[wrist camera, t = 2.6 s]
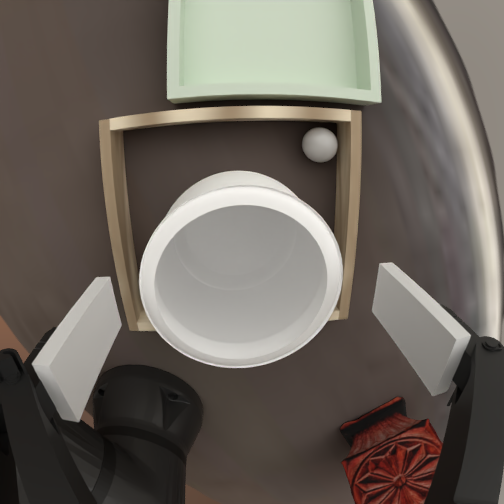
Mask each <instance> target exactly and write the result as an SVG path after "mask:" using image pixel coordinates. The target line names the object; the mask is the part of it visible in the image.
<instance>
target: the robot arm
mask: <svg viewBox="0 0 504 504" xmlns="http://www.w3.org/2000/svg"><path fill="white" fill-rule="evenodd" d="M372 312H373V313H374V315H375V316H376V317H377V319H378V320H379V321H380V323H381V324H382V325H383V327H384V328H385V329H386V331H387V332H388V334H389V335H390V336H391V338H392V339H393V340H394V342H395V343H396V345H397V346H398V347H399V349H400V350H401V352H402V353H403V354H404V356H405V357H406V359H407V360H408V361H409V363H410V364H411V366H412V367H413V368H414V370H415V371H416V373H417V374H418V376H419V377H420V379H421V380H422V381H423V383H424V384H425V386H426V387H427V389H428V390H429V392H430V393H431V395H432V396H435V395H438V394H441V393H444V392H447V390H448V388H449V386H450V384H451V382H452V380H453V381H454V382H455V384H456V385H457V386H456V389H455V391H454V393H453V394H452V396H451V398H450V400H449V402H448V404H447V406H450V404H451V402H452V405H451V410H450V415H449V420H448V424H447V429H446V433H445V437H444V441H443V445H442V449H441V453H440V456H439V460H438V463H437V466H436V470H435V473H434V476H433V479H432V482H431V485H430V488H429V491H428V494H427V496H426V499H425V502H424V504H498V499H499V494H500V488H501V482H502V475H503V466H504V347H503V345H502V344H501V343H500V342H499V341H498V340H496V339H494V338H492V337H486V336H484V337H479V336H478V335H477V334H476V333H475V332H474V331H473V330H472V329H471V328H470V327H469V326H468V325H466V324H465V323H464V322H462V320H461V319H460V318H459V317H457V315H456V314H455V313H454V312H453V311H452V310H451V309H449V308H447V307H445V306H443V305H439V304H438V303H437V302H436V301H435V300H434V299H433V298H432V297H431V296H429V295H428V294H427V293H426V292H425V291H424V290H423V289H422V288H421V287H420V286H418V285H417V284H416V283H415V282H414V281H413V280H412V279H411V278H409V277H408V276H407V275H406V274H405V273H404V272H403V271H401V270H400V269H399V268H398V267H397V266H396V265H395V264H393V263H379V270H378V277H377V283H376V290H375V296H374V301H373V307H372ZM121 326H122V324H121V320H120V316H119V313H118V309H117V304H116V300H115V296H114V292H113V287H112V283H111V278H110V277H96V278H95V280H94V281H93V282H92V283H91V285H90V286H89V287H88V288H87V290H86V291H85V292H84V293H83V295H82V296H81V297H80V298H79V300H78V301H77V302H76V303H75V305H74V306H73V307H72V309H71V310H70V311H69V313H68V314H67V315H66V317H65V318H64V319H63V321H62V322H61V323H60V325H59V326H58V327H53V328H52V329H51V330H49V331H48V332H47V333H45V335H44V336H43V337H42V339H41V340H40V343H38V344H37V345H36V347H35V349H34V350H33V351H32V352H31V354H30V355H29V357H28V358H27V359H26V361H25V362H24V364H23V362H22V360H21V358H20V356H19V354H18V352H17V351H16V350H14V349H10V348H8V349H3V350H1V351H0V504H185V477H186V458H187V455H188V453H189V451H190V449H191V447H192V445H193V443H194V441H195V439H196V437H197V435H198V433H199V431H200V429H201V426H202V417H203V407H202V403H201V400H200V398H199V397H198V395H197V394H196V392H195V391H194V390H193V389H192V388H191V387H190V386H189V385H188V384H186V383H185V382H184V381H182V380H181V379H179V378H178V377H176V376H174V375H172V374H170V373H167V372H165V371H162V370H159V369H156V368H152V367H148V366H140V365H125V366H119V367H115V368H113V369H110V370H109V371H107V372H106V373H104V374H103V375H102V376H101V378H100V379H99V381H98V383H97V386H96V388H95V391H94V394H93V419H94V429H93V428H92V427H90V426H89V425H88V424H86V423H85V422H84V421H82V420H81V419H80V418H81V416H82V413H83V411H84V408H85V406H86V403H87V401H88V399H89V396H90V394H91V391H92V389H93V387H94V384H95V382H96V380H97V378H98V375H99V373H100V371H101V368H102V366H103V364H104V362H105V360H106V357H107V355H108V353H109V351H110V349H111V347H112V344H113V342H114V340H115V338H116V336H117V334H118V332H119V330H120V328H121Z"/></svg>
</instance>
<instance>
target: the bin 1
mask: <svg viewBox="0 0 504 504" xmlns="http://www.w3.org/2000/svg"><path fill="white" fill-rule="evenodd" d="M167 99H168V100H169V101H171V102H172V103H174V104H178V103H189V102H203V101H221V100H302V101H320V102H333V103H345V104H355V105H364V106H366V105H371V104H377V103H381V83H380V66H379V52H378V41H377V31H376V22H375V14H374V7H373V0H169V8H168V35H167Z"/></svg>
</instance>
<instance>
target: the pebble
mask: <svg viewBox="0 0 504 504" xmlns="http://www.w3.org/2000/svg"><path fill="white" fill-rule="evenodd" d="M302 148H303V151H304V153H305V155H306V156H307V157H308V158H309V159H311V160H312V161H315V162H326V161H329V160H330V159H332V158H333V157H334V156H335V154H336V152H337V149H338V142H337V139H336V137H335V135H334V134H333V133H332V132H331V131H330V130H328V129H326V128H322V127H316V128H313V129H311V130H309V131H308V132H307V133H306V134H305V135H304V137H303V140H302Z"/></svg>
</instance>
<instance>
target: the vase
mask: <svg viewBox="0 0 504 504" xmlns="http://www.w3.org/2000/svg"><path fill="white" fill-rule="evenodd" d="M340 431H341V433H342V435H343V436H344V438H345V439H346V441H347V442H348V443H349V445H350V446H351V450H350V453H349V455H348V456H347V457H346V459H344V460H343V461H342V464H343V467H344V469H345V472H346V475H347V478H348V481H349V484H350V488H351V493H352V496H353V499H354V501H355V504H424V502H425V499H426V496H427V494H428V491H429V488H430V485H431V482H432V479H433V476H434V473H435V470H436V466H437V463H438V460H439V456H440V453H441V449H442V445H443V443H442V442H441V441H440V439H439V437H438V436H437V434H436V432H435V430H434V428H433V427H432V425H431V424H430V422H429V419H425V420H413V419H410V418H407V416H406V405H405V400H404V398H403V397H396V398H394V399H393V400H391V401H390V402H388V403H386V404H384V405H382V406H380V407H378V408H376V409H374V410H373V411H371V412H370V413H368V414H366V415H364V416H362V417H361V418H359V419H358V420H356V421H350V422H347V423H344V424H343V425H342V426H341V428H340Z"/></svg>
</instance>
